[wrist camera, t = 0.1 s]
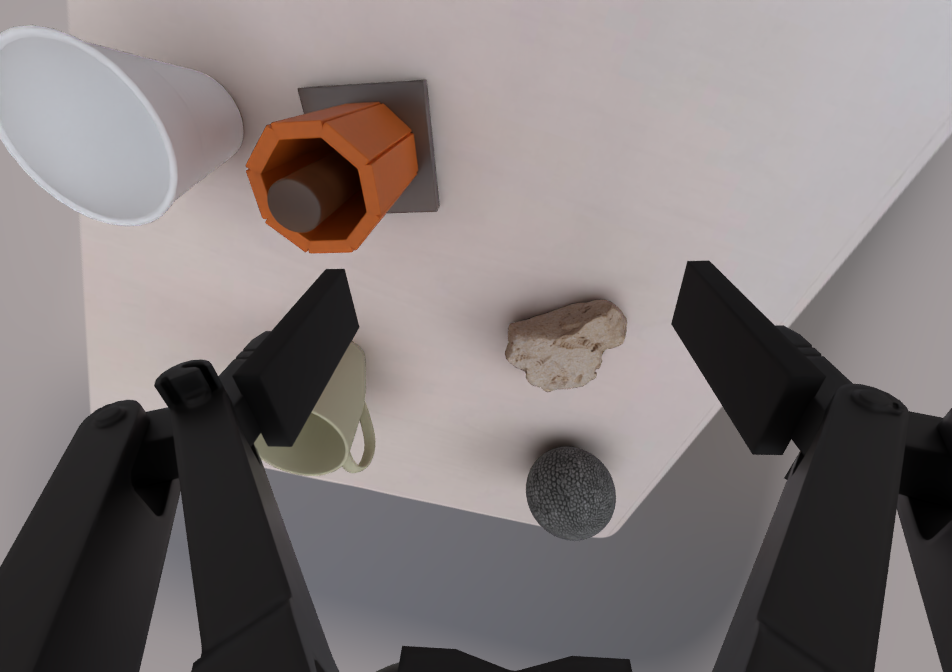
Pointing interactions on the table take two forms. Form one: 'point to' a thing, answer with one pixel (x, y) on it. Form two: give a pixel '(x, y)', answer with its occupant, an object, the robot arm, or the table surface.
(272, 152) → the orange octagonal sleeve
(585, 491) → the decorative ball
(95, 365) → the table surface
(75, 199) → the cup
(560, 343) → the stone
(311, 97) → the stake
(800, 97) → the table surface
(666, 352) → the table surface
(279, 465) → the mug
